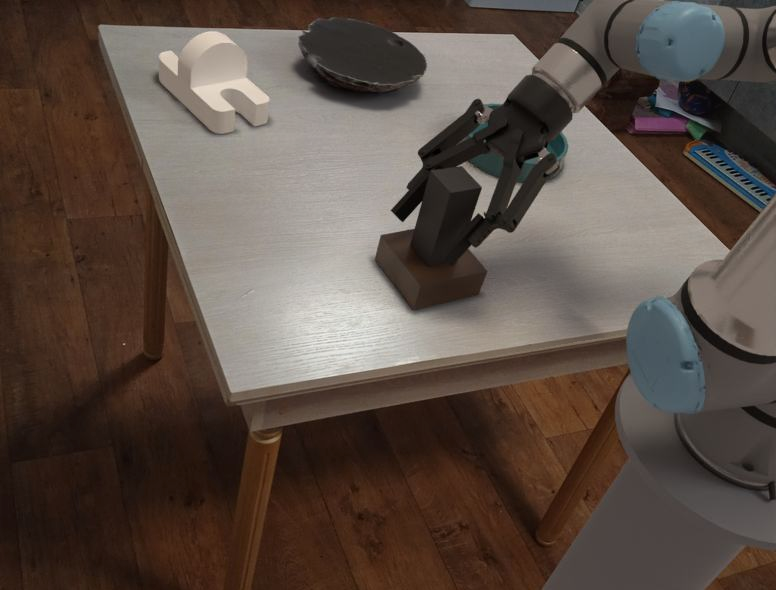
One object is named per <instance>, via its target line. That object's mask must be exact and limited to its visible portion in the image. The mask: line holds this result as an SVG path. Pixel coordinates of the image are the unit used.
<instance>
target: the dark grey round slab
mask: <svg viewBox="0 0 776 590" xmlns="http://www.w3.org/2000/svg"><path fill="white" fill-rule="evenodd" d="M307 30H308V31H305V30H301V32H302V34H301V35H298V36H297V38H298V42H297V44H298V47H299V49H300V52H301V54H302V55H303V57H304V59H305V60H306V61H307V62H308V64H309V65H310V66H311V67H312V68H314V69H315V70H316V71H317V72H318V74H319V76H320V78H322V79H323V80H325V82H326V83H328V84H329V85H330V86H333V87H335V88H344V89H347V90H351V91H354V92H372V93H385V92H395V91H398V90H399V89H400V88H403V87H408V86H410V85H411V84H413V83H415V82H416V81H419V80H420V79H421V78H423V77H424V76H425V73H426V72H427V68H428V63H427V59H426V57H425V55H424V54H423V53H422V52H421V51H420V50H419V49H418V47H416V46H415V45H414V44H413V43H411V41H409V40H407V39H405V38H403V37H402V36H400V35H398V34H397V33H395V32H393V31H391V30H389V29H387V28H384V27H382V26H380V25H376V24H373V23H370V22H367V21H363V20H358V19H356V18H355V19H353V18H341V17H335V16H334V17H331V18H329V19H326V18H317V19H316V20H313V21H312V22H311V23H310V24H308V27H307Z"/></svg>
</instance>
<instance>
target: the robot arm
mask: <svg viewBox="0 0 776 590" xmlns="http://www.w3.org/2000/svg"><path fill="white" fill-rule="evenodd" d="M620 69H621V70H624V71H629V72H635V73H637V74H638V73H639V74H643V75H646V76H649V77H655V78H656V79H657V80H661V81H665V82H666V81H672V82H683V83H685V82H686V83H687V82H692V81H695V80H710V81H711V80H712V81H733V82H734V81H735V82H749V83H757V84H759V85H774V84H776V5H773V6H769V7H764V8H747V7H735V6H726V5H725V6H724V5H715V4H705V3H699V2H694V1H684V0H592V1H591V2H590V4H588V6H587V7H586V8H585V9H584V11H582V13H581V14H580V15H579V16H578V17H577V18H576V19H575V21H574V22H573V23H572V24H571V25H570V26H569V27H568V28H567V29H566V31H565V32H564V33H563V35H561V36H560V38H559V39H558V40H557V41H556V42H555V43H554V44H553V45H552V46H551V47H550V48H549V49H548V50H547V51H546V53H544V55H543V56H542V57H541V58H540V59H539V60H538V61H537V62H536V63H535V64H534V66H532V68H531V74H526V75H525V76H524V77H523V78H522V79H521V80H520V81H519V82H518V83H517V85H516V86H515V87H513V89H512V90H511V91H510V92H509V94H508V95H507V97H506V98H505V101H504V102H503V103H501V104H502V105H501V106H499V107H497V108H495V109H491V108H489V107H487V106H485V105H484V104H485V103H483V101H482V100H481V99H480V98H475V99H474V100H472V102H471V103H470V105H469V106H468V107H467V110H466V111H465V112H464V113H463V114H461V115H460V116H459V117H458V118H456V119H455V120H454V121H452V123H450V124H449V125H447V126H446V127H445V128H444V129H443V130H442V131H440V132H439V133H437V134H436V135H435V136H434V137H433V138H432V139H430V140H429V141H428V142H426V143H425V144H424V145H423V146H421V147H420V148H419V149H418V151H417V155H418V157H419V159H420V161H421V162H422V167H421V169H420V170H419V171H418V172H417V173H416V174H414V176H413V178H411V179H410V180H409V182H408V183H407V185H406V189H407V191H406V192H405V193H404V195H402V197H401V198H399V200H398V201H397V202H396V204H395V205H394V206H393V207H392V208H391V209H390V212H391V213H392V214H393V215H394V216H395V217H396V218H397V219H398V220H399V221H400V222H401V223H404V222H405V221H406V220H407V218H409V216H411V214H412V213H414V211H415V210H416V209H417V207H419V205H421V204H422V200H423V196H424V193H425V189H426V186H427V182H428V178H429V175H430V171H431V170H438V169H445V168H451V167H458V166H462V164H465V163H466V162H468V161H469V160H471V159H473V158H475V157H477V156H479V155H481V154H488V153H490V152H493V153H494V154H495V155H498V156H501V157H502V159H503V160H504V161H503V168H502V171H501V174H500V177H498V180H497V182H496V185H495V188H494V191H493V193H492V196H491V199H490V201H489V204H488V207H487V210H486V211H483V215H481V213H479V212H478V213H476V214H475V216H474V217H472V219H471V222H470V223H469V224H468V225H467V226H466V227H465V228H464V229H463V230H462V231H461V232H460V234H459V235H458V236H457V237H456V238H455V239H454V240H453V241H452V242H451V243H450V244H449V246H448V247H447V248H446V249H445V250H444V251H443V252H442V253H441V254H440V255H441V256H442V257H443V258H444V259H445V260H446V261H447V262H448V263H449V264H450V265H451V266H453V265H454V264H455V262H456V261H457V260H458V259H459V258H460V257H461V256H462V255H463V254H464V253H465V252H466V251H467V249H470V248H471V246H472V247H473V248H474V249H476V248H479V247H481V245H482V244H483V242H485V240H486V239H487V238H488V237H489V236H490V235H491V234H492V233H493V232H494V231H495V230H498V229H500V230H502V231H506V232H507V233H509V234H511V233H515V231H516V229H517V228H518V227H519V224H520V223H521V222H522V220H523V218H524V217H525V215H526V213H527V212H528V211H529V209H530V207H532V204H533V203H534V201H535V200H536V198H537V197H538V195H539V193H540V192H541V190H542V189H543V187H544V185H545V184H546V182H547V181H549V180H550V179H549V178H550V177H551V176H552V175H554V174H555V173H556V172H557V171H558V170H559V169H560V164H559V162H558V160H557V158H556V156H555V154H553V153H549V152H548V150H547V147H548V144H549V142H550V141H551V140H553V139H555V138H556V137H557V136H558V135H559V134H560V132H563V130H564V129H565V128H566V127H567V126H568V125H569V124H570V123H571V122H572V121H573V117H574V116H573V115H574V114H578V113H580V112H581V110H583V109H584V107H585V106H586V105H587V104H588V103H589V102H590V101H591V100H592V99H593V97H595V95H596V94H597V93H598V92H599V91H600V90H601V89H602V88H603V87H604V86H605V85H606V83H607V82H608V81H609V80H610V79H611V78H612V77H613V76H614V75H615V74H616V73H617V72H618V71H619V70H620ZM487 120H489V121H488V126H487V127H485V128H483V129H481V130H479V131H477V132H476V133H474V134H473V136H472V137H471V138H469V139H467V140H465V141H463V142H461V143H459V142H460V141H462V140H463V139H464V138H465V137H467V136H468V135H469V134H470V133H472V132H473V131H474V130H475V129H476V128H477V127H478V126H479V125H480V124H482V125H483V124H485V121H487ZM484 140H486V142H484ZM458 143H459V144H458ZM537 157H538V158H537ZM534 158H537V160H536V165H535V166H534V167H533V169H532V170H531V172H530V173H529V175H528V176H527V178H526V179H525V181H524V182H522V184H521V186H520V187H519V188H518V189H517V192H516V193H515V194H514V197H513V198H512V195H513V193H514V190H515V187H516V184H517V182H516V181H517V179H518V177H519V176H520V175H521V172H522V170H523V167H524V164H525V161H527V160H530V159H534ZM469 162H470V161H469ZM560 170H561V169H560ZM560 170H559V171H560ZM548 179H549V180H548ZM511 198H512V200H511ZM510 200H511V201H510ZM625 339H626V340H625V346H626V358H627V364H628V367H629V371H630V372H631V375H632V377H633V380H634V382H635V384H636V386H637V388H638V390H639V391H640V393H641V394H642V396H643V397H644V398H645V399H646V400H647V402H648V403H650V404H651V405H652V406H653V407H655V408H656V409H659V410H662V411H663V412H666V413H675V414H674V422H675V427H676V431H677V433H678V436H679V438H680V440H681V442H682V443H683V445H684V447H685V448H686V449H687V451H688V452H689V453H690V454H691V455H692V457H693V458H694V459H695V460H696V461H697V462H698V463H700V464H701V465H702V466H703V467H704V468H705V469H707V470H708V471H710V472H711V473H712V474H714V475H716V476H717V477H719V478H721V479H722V480H724V481H726V482H729V483H731V484H733V485H736V486H739V487H742V488H746V489H750V490H757V491H769V498H770V500H776V491H775V489H776V193H775V194H774V195H773V196H772V197H771V198H770V199H769V201H768V202H767V203H766V205H765V206H764V207H763V208H762V210H761V211H760V212H759V214H758V215H757V216H756V217H755V218H754V220H753V221H752V223H751V224H750V225H749V226H748V228H747V229H746V230H745V232H743V234H742V235H741V236H740V238H739V239H738V240H737V242H735V244H734V245H733V246H732V248H731V249H730V250H729V251H728V253H727V254H726V255H725V257H724V258H723V259H712V260H707V261H705V262H703V263H701V264H699V265H698V266H697V267H696V268H694V270H693V271H692V272H691V274H690V275H689V276H688V278H687V279H685V281H684V282H683V283H682V285H681V286H680V287H679V288H678V290H677V292H675V293H674V294H673V295H670V296H669V297H665V296H661V295H660V296H656V295H655V296H654V297H653V298H649V299H646V300H644V301H642V302H641V303H639V304H638V305H637V306H636V308H635V309H634V310H633V311H632V313H631V316H630V318H629V321H628V325H627V328H626V335H625ZM630 372H629V373H630Z"/></svg>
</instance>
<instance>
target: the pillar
mask: <svg viewBox="0 0 776 590" xmlns="http://www.w3.org/2000/svg"><path fill="white" fill-rule="evenodd" d="M482 188H483V187H482V185H481V184H479V183H478V181H476V179H475V178H474V177H473V176H472V175H471V174H470V173H469V172H468V171H467V170H466V169H465V168H464V167H463V166H462V165H459V166H457V167H451V168H445V169H438V170H431V171H430V175H429V178H428V182H427V186H426V189H425V193H424V196H423V200H422V202H421V203H420V208H419V211H418V214H417V219H416V222H415V226H414V228H413V229H414V232H413V236H412V240H411V243H410V245H411V246H412V247H413V248H414V250H415V251H416V252H417V253H418V255H419V256H420V257H421V258H422V259H423V261H424V262H425V263H426V264H427V266H433V265H438V264H443V263H447V261H446V260H445V259H444V258H443V257H442V256H441V255H440V254H441V253H442V252H443V251H444V250H445V249H446V248H447V247H448V246H449V244H450V243H451V242H452V241H453V240H454V239H455V238H456V237H457V236H458V235H459V234H460V232H461V231H462V230H463V229H464V228H465V227H466V226H467V225H468V224H469V223H470V222H471V220H472V219H473V216H474V214H475V210H476V208H477V204H478V202H479V201H478V200H479V199H480V195H481V192H482V190H483V189H482Z"/></svg>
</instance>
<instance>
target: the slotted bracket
mask: <svg viewBox="0 0 776 590" xmlns="http://www.w3.org/2000/svg"><path fill="white" fill-rule="evenodd" d="M248 64H249V61H248V57H247V55H246V53H245V51H244V50H243V49H242V48H241V47H240V46H239V45H238V44H236V43H235V42H234V41H233V40H232V39H231V38H229V37H228V36H227V35H226V34H224V33H221V32H219V31H215V30H213V31H211V30H210V31H209V30H208V31H205V32H202V33H199V34H197V35H196V36H194V37H192V38H191V39H190V40H189V41H188V42H187V43H186V45H184V47H183V48H182V51H181V52H180V54H179V56H178V55H177V54H176V53H174V52H173V50H166V51H161V53H159V54H158V81H159V83H160V84H161V85H162V86H163V87H164V88H165V89H166V90H167V91H169V92H170V93H171V94H172V95H173V96H174V98H176V99H177V100H178V101H179V102H180V103H181V104H182V105H183V106H184V107H185V108H186V109H187V110H188V111H190V113H192V115H193V116H195V117H196V118H197V119H198V120H199V121H200V122H201V123H202V124H203V125H204V126H205V127H206V128H207V129H208V130H209V131H211V132H212V133H215V134H218V135H219V134H220V135H223V134H228V133H232V132H234V131H235V121H236V120H235V119H236V113H238V114H240V115H241V116H242V117H243V118H244V119H246V121H248V122H249V124H251V125H252V126H253V127H258V126H264V125H266V124H267V123H268V119H269V110H270V101H271V98H270V96H268V94H266V93H265V92H264V91H263V90H261V88H260V87H258V86H257V85H256V84H254V82H253V81H251V80H250V79H249V78H248V77H247V76H248V66H249V65H248Z"/></svg>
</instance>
